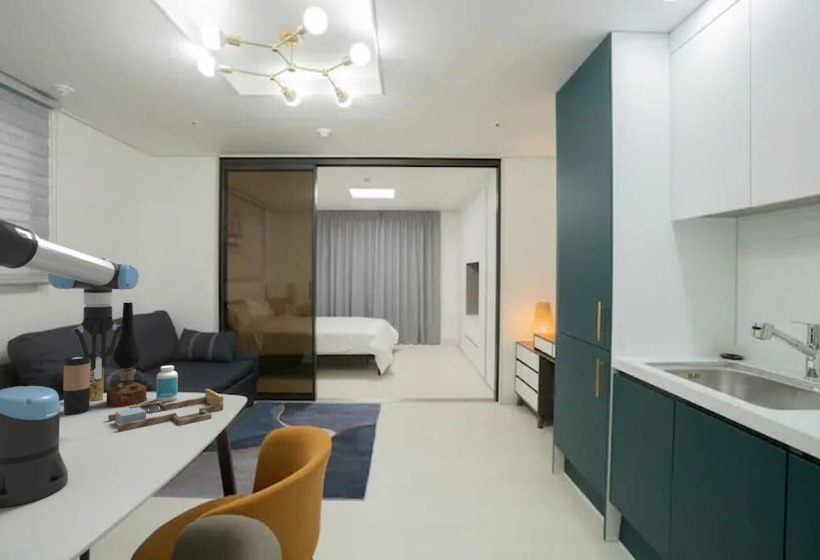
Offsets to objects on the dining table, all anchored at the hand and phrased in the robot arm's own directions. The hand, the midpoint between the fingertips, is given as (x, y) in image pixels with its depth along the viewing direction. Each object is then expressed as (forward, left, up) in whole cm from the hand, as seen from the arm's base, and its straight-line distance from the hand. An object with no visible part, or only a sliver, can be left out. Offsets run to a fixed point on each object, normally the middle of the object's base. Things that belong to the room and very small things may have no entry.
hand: (97, 378), depth 137 cm
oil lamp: (+14, +28, -17) cm, 36 cm away
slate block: (+9, 0, -17) cm, 19 cm away
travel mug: (-2, +26, -17) cm, 31 cm away
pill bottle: (+26, +20, -17) cm, 37 cm away
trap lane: (+20, 0, -17) cm, 26 cm away
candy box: (+4, +40, -17) cm, 43 cm away
